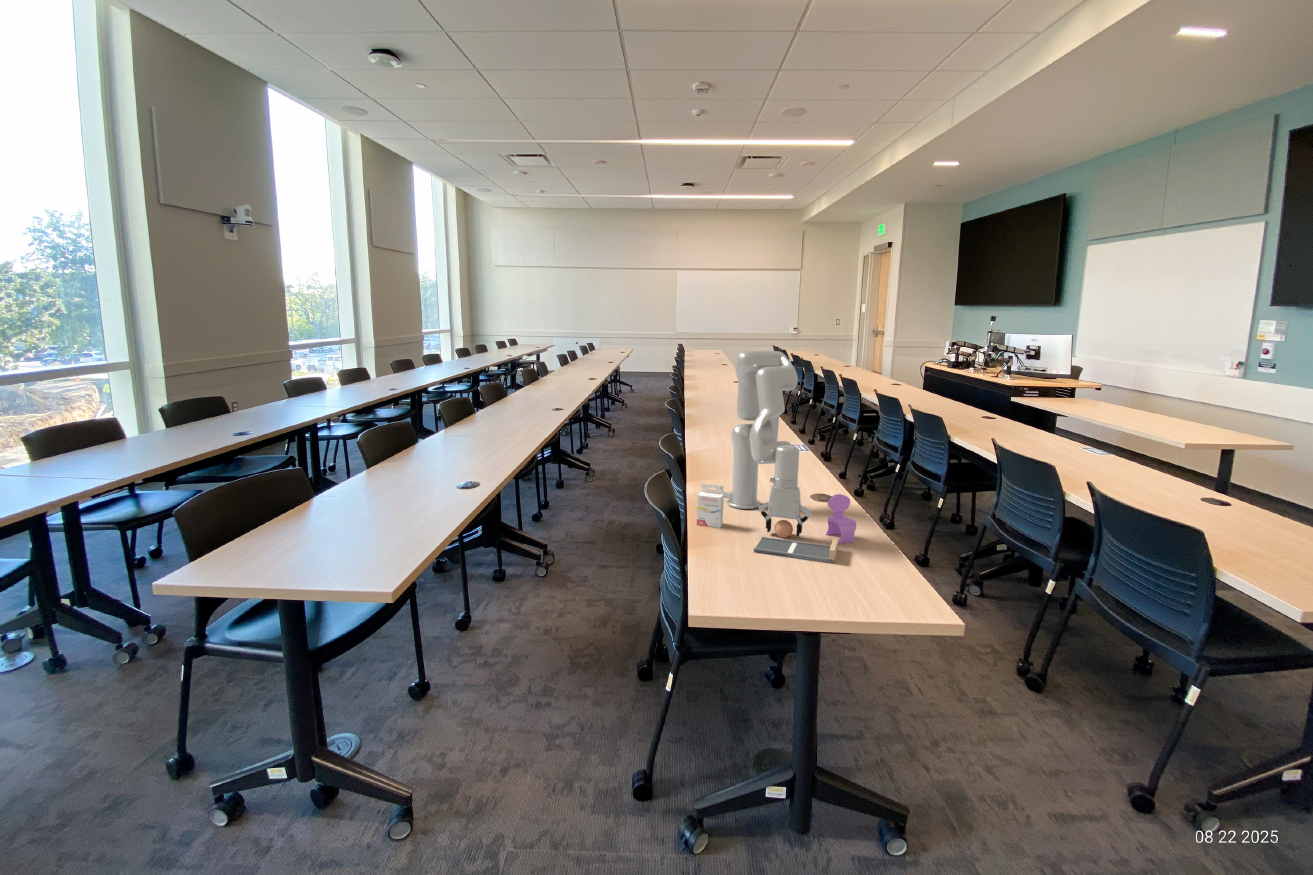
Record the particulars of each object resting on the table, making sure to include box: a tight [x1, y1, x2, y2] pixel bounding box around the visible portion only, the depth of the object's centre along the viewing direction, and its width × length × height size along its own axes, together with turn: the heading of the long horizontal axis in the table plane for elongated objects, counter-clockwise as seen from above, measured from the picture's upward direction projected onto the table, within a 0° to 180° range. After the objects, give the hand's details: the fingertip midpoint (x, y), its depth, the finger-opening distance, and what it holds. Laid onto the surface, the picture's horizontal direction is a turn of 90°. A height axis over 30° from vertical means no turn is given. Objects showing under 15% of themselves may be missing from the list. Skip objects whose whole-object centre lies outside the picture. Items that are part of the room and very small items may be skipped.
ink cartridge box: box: [696, 483, 725, 529], centre depth 209 cm, size 9×5×15 cm, turn 71°
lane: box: [753, 536, 839, 565], centre depth 187 cm, size 24×12×4 cm, turn 68°
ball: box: [774, 519, 794, 539], centre depth 199 cm, size 6×6×6 cm
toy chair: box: [825, 493, 857, 545], centre depth 196 cm, size 8×9×15 cm
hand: (783, 532), depth 199 cm, fingers open, 9 cm apart
